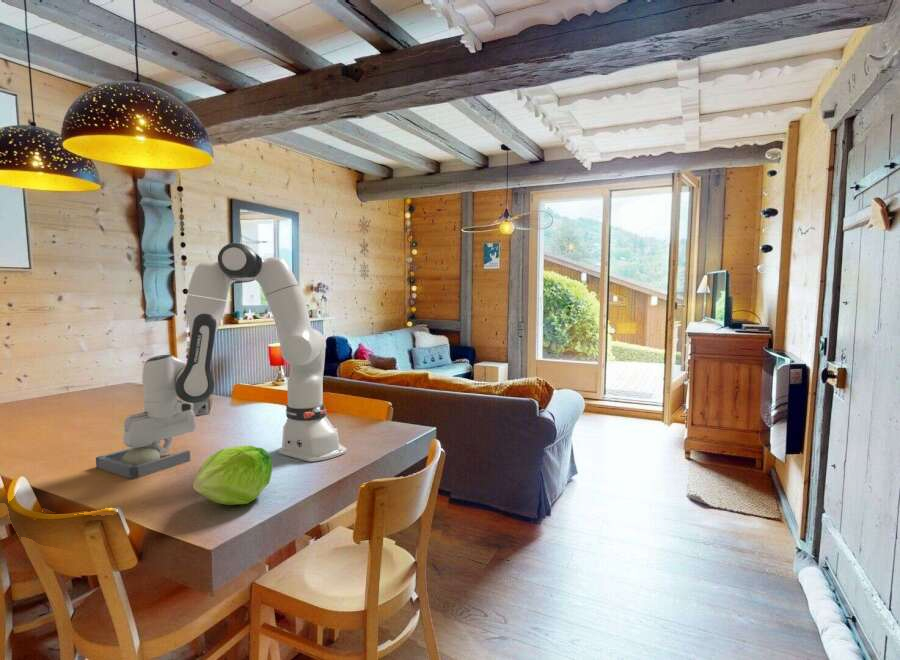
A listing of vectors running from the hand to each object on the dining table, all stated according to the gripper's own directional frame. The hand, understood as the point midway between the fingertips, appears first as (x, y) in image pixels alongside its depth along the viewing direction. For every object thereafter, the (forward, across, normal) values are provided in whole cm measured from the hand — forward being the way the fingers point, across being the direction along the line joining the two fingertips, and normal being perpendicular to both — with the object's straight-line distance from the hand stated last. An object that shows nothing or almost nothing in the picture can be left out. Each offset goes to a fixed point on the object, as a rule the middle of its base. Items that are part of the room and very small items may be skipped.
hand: (162, 453), depth 144 cm
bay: (+2, -5, 0) cm, 5 cm away
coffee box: (+2, +42, +40) cm, 58 cm away
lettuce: (+2, -10, -44) cm, 46 cm away
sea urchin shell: (+2, -6, 0) cm, 6 cm away
